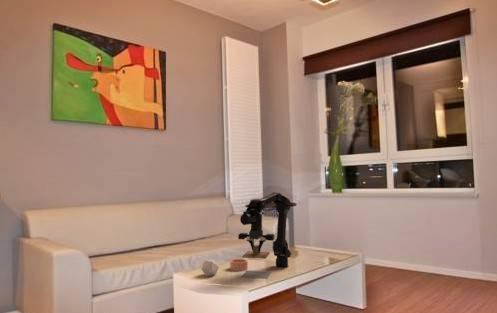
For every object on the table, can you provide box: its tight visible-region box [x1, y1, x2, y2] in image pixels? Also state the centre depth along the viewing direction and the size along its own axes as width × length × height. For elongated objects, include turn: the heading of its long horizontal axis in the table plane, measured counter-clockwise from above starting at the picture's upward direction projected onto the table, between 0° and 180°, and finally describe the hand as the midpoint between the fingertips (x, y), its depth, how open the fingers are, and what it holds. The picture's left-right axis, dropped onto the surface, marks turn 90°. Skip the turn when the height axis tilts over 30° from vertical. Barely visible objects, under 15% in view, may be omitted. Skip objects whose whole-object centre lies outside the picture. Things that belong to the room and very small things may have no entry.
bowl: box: [229, 258, 249, 272], centre depth 206 cm, size 10×10×5 cm
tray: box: [240, 270, 272, 280], centre depth 194 cm, size 14×14×1 cm
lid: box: [242, 244, 270, 259], centre depth 195 cm, size 12×12×5 cm
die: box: [201, 259, 220, 277], centre depth 194 cm, size 8×9×10 cm
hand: (256, 253), depth 195 cm, fingers closed on lid, 2 cm apart
